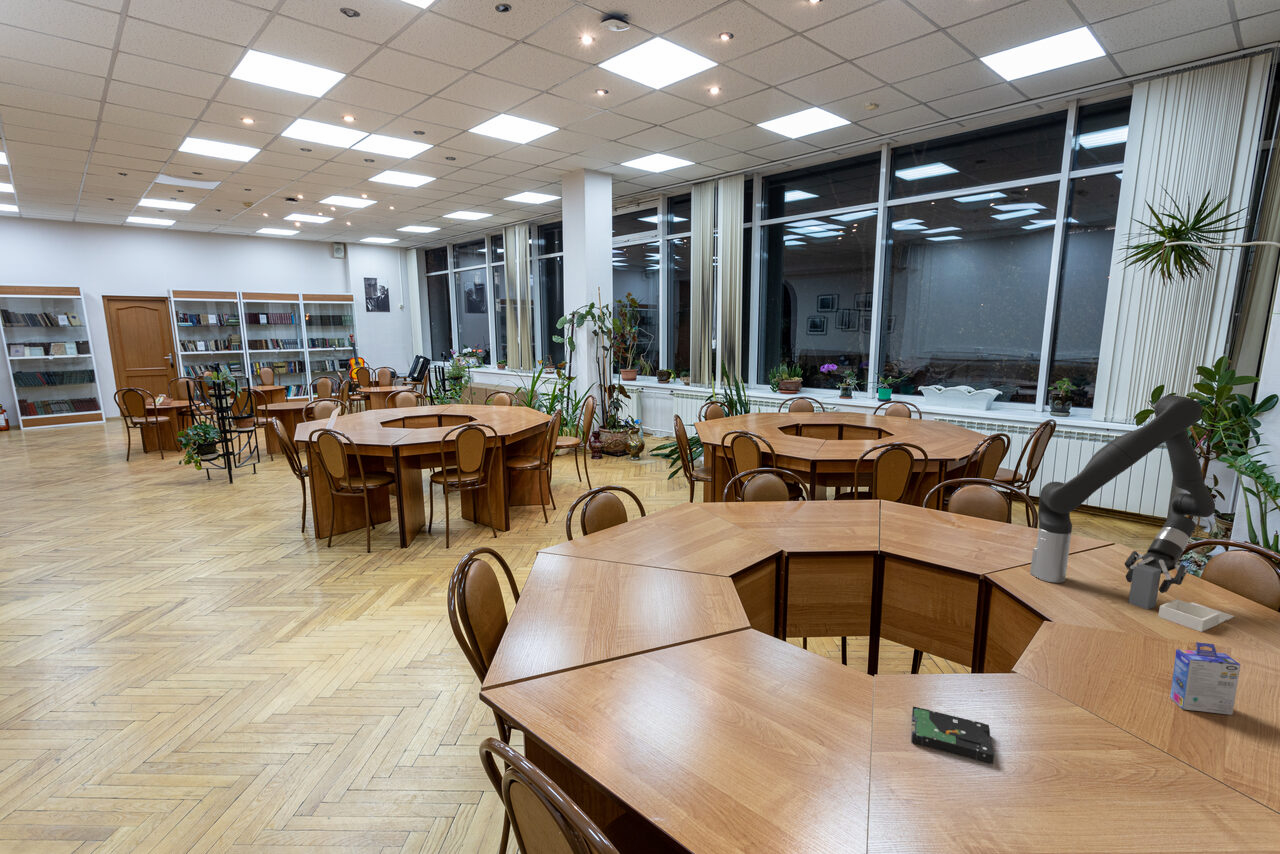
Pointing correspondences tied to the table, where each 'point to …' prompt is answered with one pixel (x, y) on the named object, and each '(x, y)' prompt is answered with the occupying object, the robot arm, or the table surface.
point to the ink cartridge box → (1205, 680)
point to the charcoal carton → (1144, 586)
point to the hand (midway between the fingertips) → (1144, 586)
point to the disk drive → (952, 735)
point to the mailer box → (1192, 615)
